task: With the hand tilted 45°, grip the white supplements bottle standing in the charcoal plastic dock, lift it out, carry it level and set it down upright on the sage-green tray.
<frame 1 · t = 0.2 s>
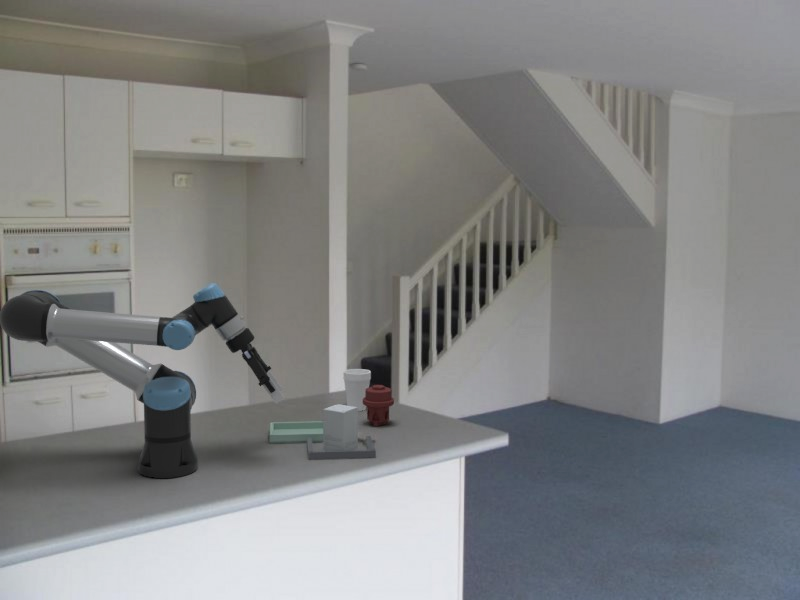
hand: (279, 396, 232), 16 cm above the counter, tool tilted 35°, fingers open, 13 cm apart
mechanical component: (378, 424, 265), on the counter
foam cup: (356, 409, 284), on the counter
supplement box: (340, 451, 235), resting in dock
dock: (340, 451, 235), on the counter
tray: (303, 436, 249), on the counter
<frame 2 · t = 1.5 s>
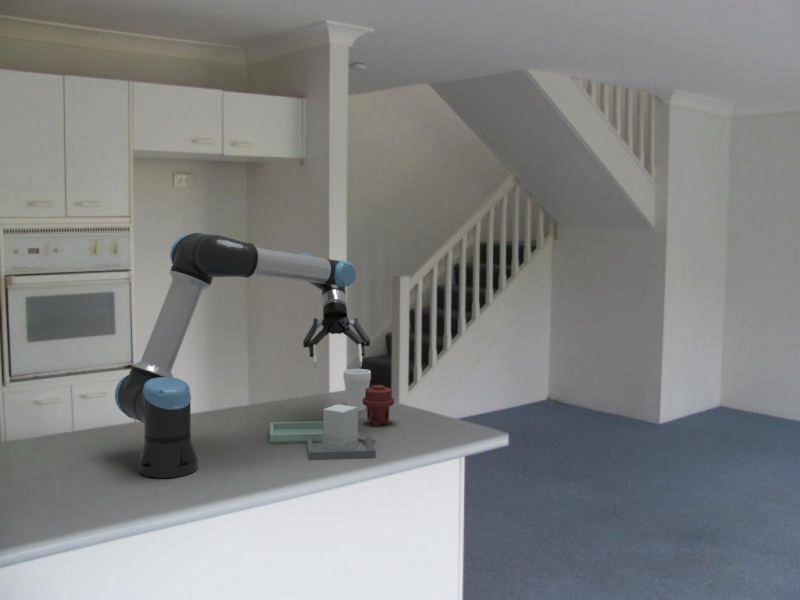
hand: (338, 364, 247), 22 cm above the counter, tool tilted 45°, fingers open, 13 cm apart
nothing on the counter moved.
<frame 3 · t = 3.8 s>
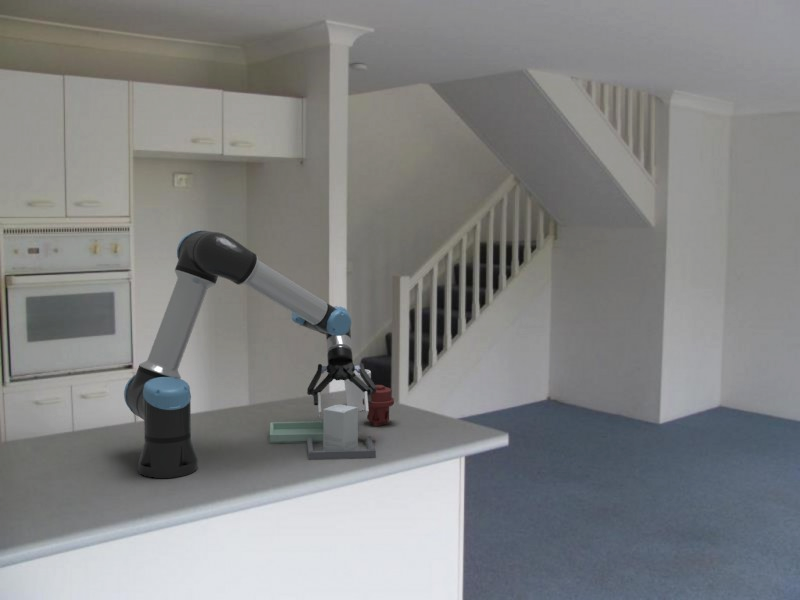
hand: (343, 413, 238), 10 cm above the counter, tool tilted 45°, fingers open, 13 cm apart
nothing on the counter moved.
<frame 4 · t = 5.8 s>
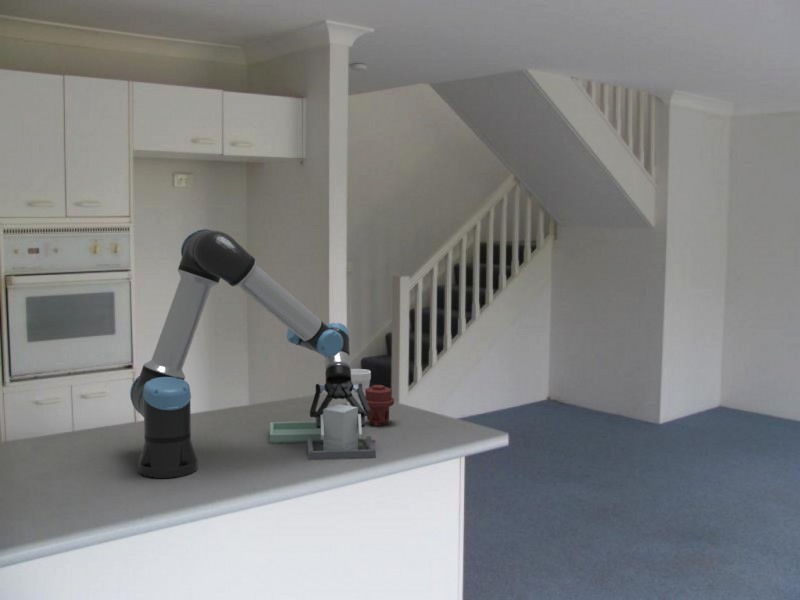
hand: (341, 437, 232), 5 cm above the counter, tool tilted 45°, fingers closed on supplement box, 10 cm apart
supplement box: (340, 451, 235), resting in dock, touching gripper
everything else where it was.
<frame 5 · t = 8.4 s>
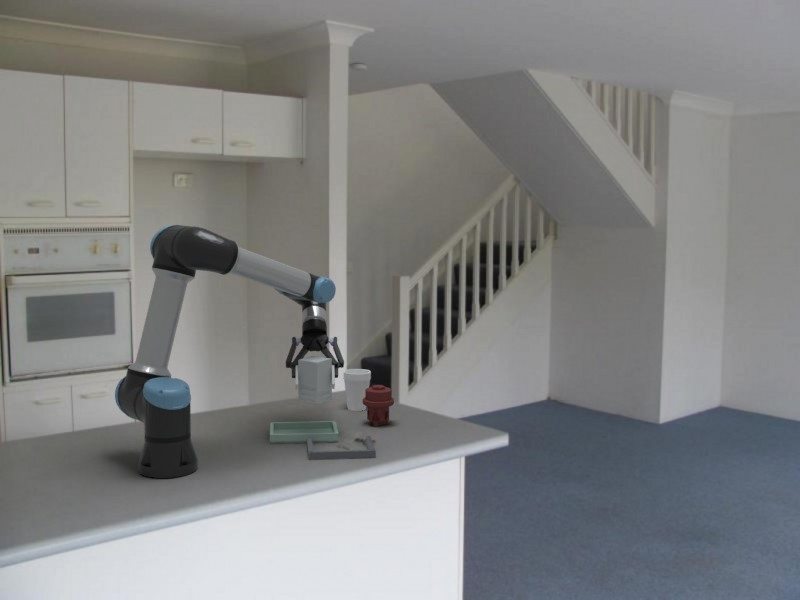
hand: (315, 386, 241), 17 cm above the counter, tool tilted 45°, fingers closed on supplement box, 10 cm apart
supplement box: (315, 401, 245), point 12 cm above the counter, touching gripper
everything else where it was.
when the fingers open (7 cm above the counter, at t = 11.2 s): supplement box drops 1 cm, resting on tray.
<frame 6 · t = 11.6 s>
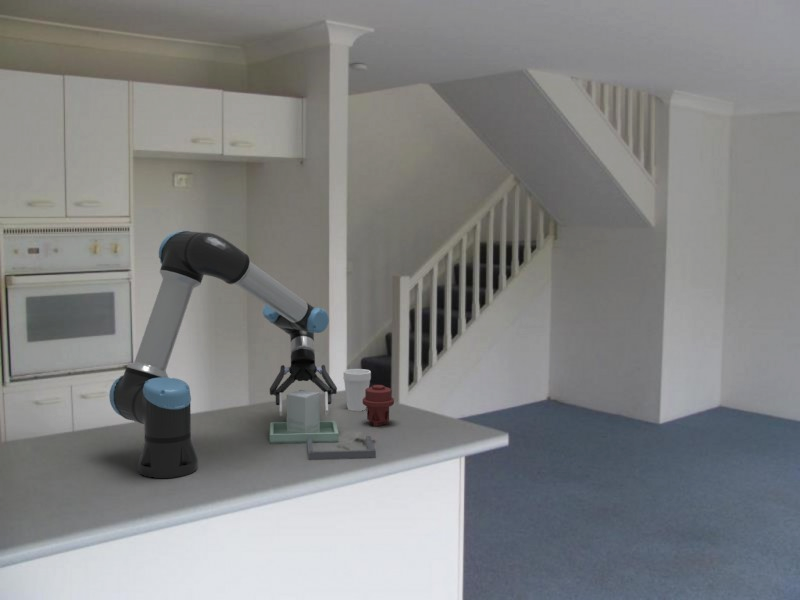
hand: (303, 413, 246), 8 cm above the counter, tool tilted 45°, fingers open, 13 cm apart
supplement box: (303, 434, 249), resting on tray
everything else where it was.
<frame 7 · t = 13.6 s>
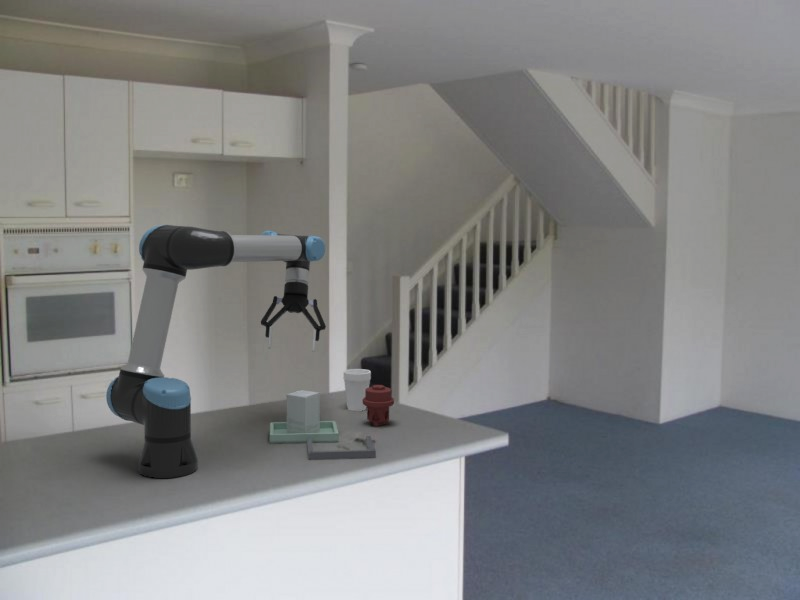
hand: (291, 349, 258), 24 cm above the counter, tool tilted 20°, fingers open, 13 cm apart
nothing on the counter moved.
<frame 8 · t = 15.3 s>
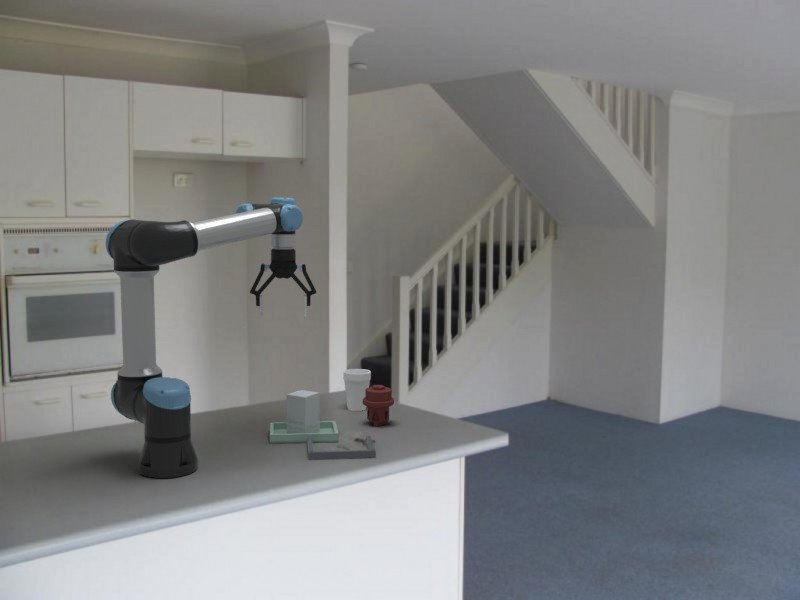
hand: (283, 316, 256), 35 cm above the counter, tool pointing down, fingers open, 13 cm apart
nothing on the counter moved.
at the end: supplement box inside the target area on the tray (0.1 cm from its centre), point 0.4 cm above the tray's base; supplement box tilted 0°; the gripper is holding nothing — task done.
